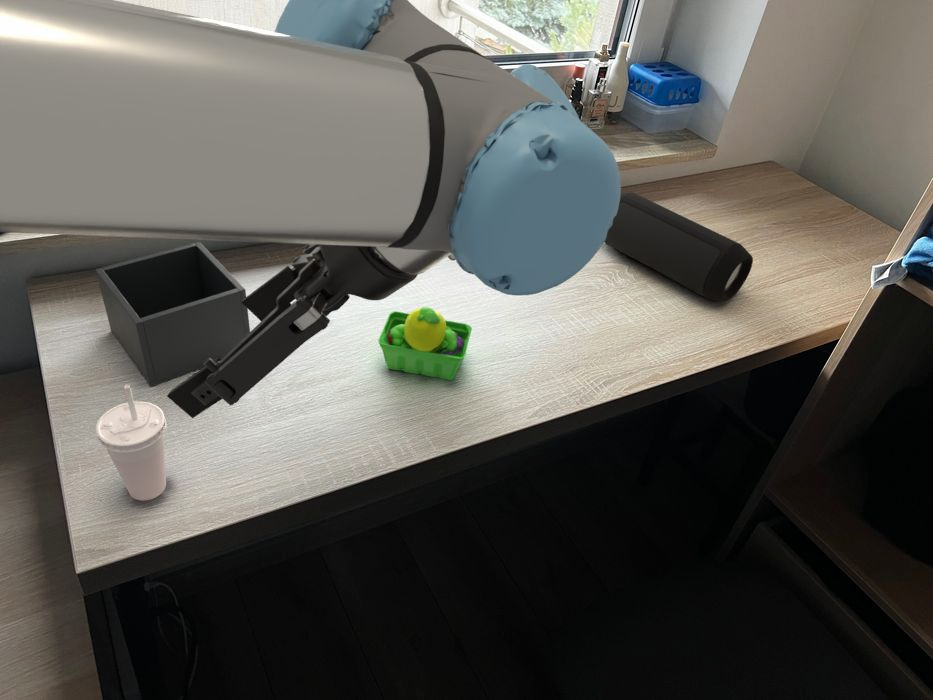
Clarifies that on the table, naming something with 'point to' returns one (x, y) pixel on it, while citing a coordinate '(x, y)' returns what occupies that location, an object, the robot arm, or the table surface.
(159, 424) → the smoothie
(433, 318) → the fruit basket
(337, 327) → the table surface
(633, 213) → the portable speaker
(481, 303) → the table surface
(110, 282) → the bin
